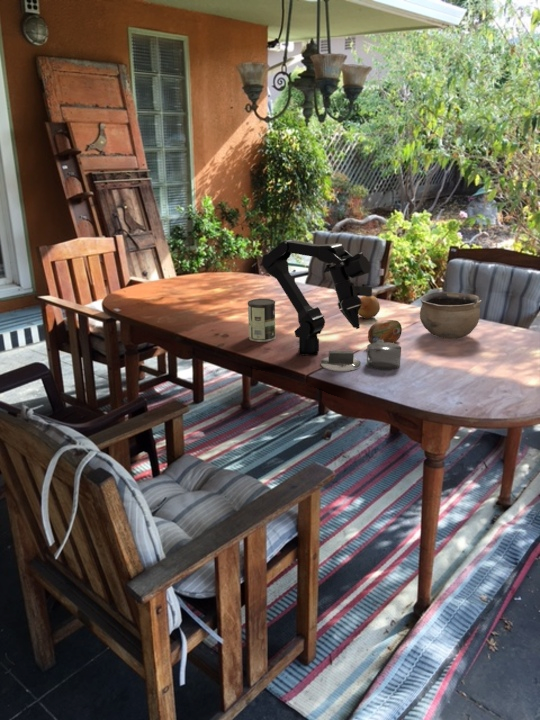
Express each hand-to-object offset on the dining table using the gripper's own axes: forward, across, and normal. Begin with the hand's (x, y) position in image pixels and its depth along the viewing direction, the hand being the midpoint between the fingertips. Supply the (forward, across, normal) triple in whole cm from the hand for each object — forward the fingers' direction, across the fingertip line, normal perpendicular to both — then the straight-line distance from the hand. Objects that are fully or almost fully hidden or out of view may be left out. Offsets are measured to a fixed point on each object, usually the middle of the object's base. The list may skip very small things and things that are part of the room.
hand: (356, 327), depth 196 cm
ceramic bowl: (+16, +33, -34) cm, 50 cm away
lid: (+10, +2, +8) cm, 14 cm away
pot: (+14, +5, -5) cm, 15 cm away
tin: (+10, +24, -10) cm, 28 cm away
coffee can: (-5, +30, +33) cm, 45 cm away
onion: (+2, +58, -10) cm, 59 cm away
